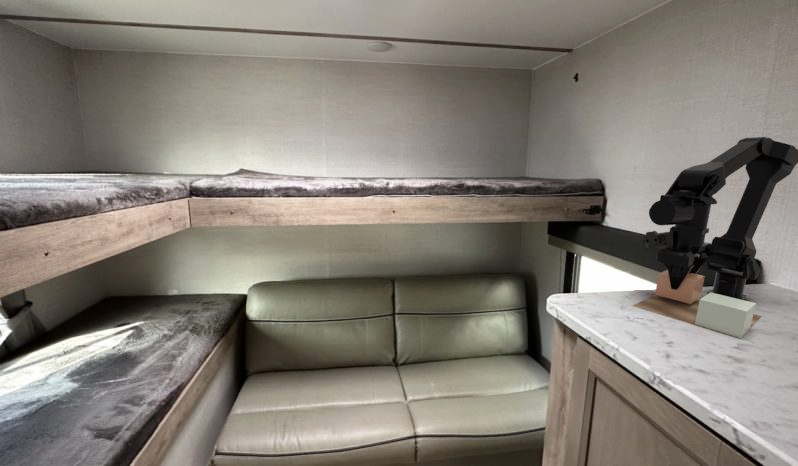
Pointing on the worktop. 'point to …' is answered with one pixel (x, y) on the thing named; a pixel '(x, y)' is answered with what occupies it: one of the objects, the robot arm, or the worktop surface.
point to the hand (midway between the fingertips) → (679, 286)
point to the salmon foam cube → (680, 287)
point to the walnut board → (678, 310)
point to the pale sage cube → (725, 314)
